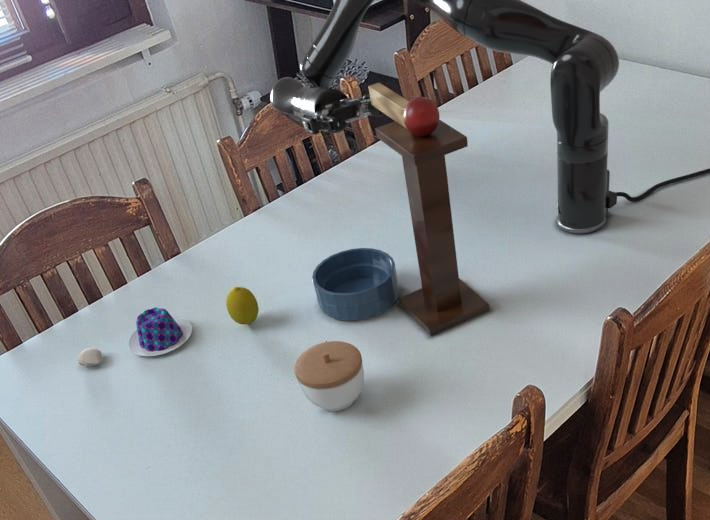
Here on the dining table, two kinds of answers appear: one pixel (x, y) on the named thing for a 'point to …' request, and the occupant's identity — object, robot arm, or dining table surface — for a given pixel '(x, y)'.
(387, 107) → the mallet
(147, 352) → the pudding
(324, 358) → the trinket box
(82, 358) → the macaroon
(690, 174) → the robot arm
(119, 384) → the dining table surface
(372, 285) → the bowl
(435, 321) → the plant stand
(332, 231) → the dining table surface
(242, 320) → the lemon
